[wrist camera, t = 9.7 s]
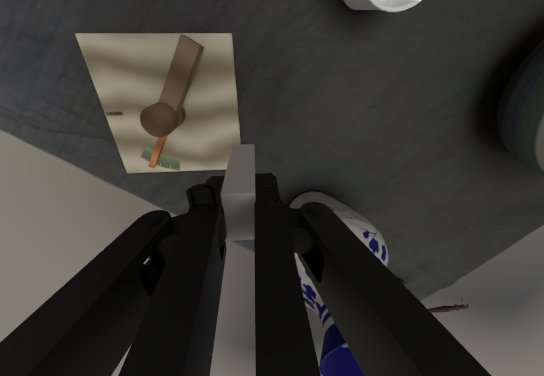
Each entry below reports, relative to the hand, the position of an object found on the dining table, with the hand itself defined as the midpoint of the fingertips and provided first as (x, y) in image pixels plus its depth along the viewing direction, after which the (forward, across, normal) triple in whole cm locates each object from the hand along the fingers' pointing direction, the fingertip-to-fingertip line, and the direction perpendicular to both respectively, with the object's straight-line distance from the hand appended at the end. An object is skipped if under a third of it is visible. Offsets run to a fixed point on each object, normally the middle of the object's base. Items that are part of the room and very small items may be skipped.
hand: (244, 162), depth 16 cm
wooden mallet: (+25, -13, -1) cm, 28 cm away
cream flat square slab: (+26, -13, -1) cm, 29 cm away
